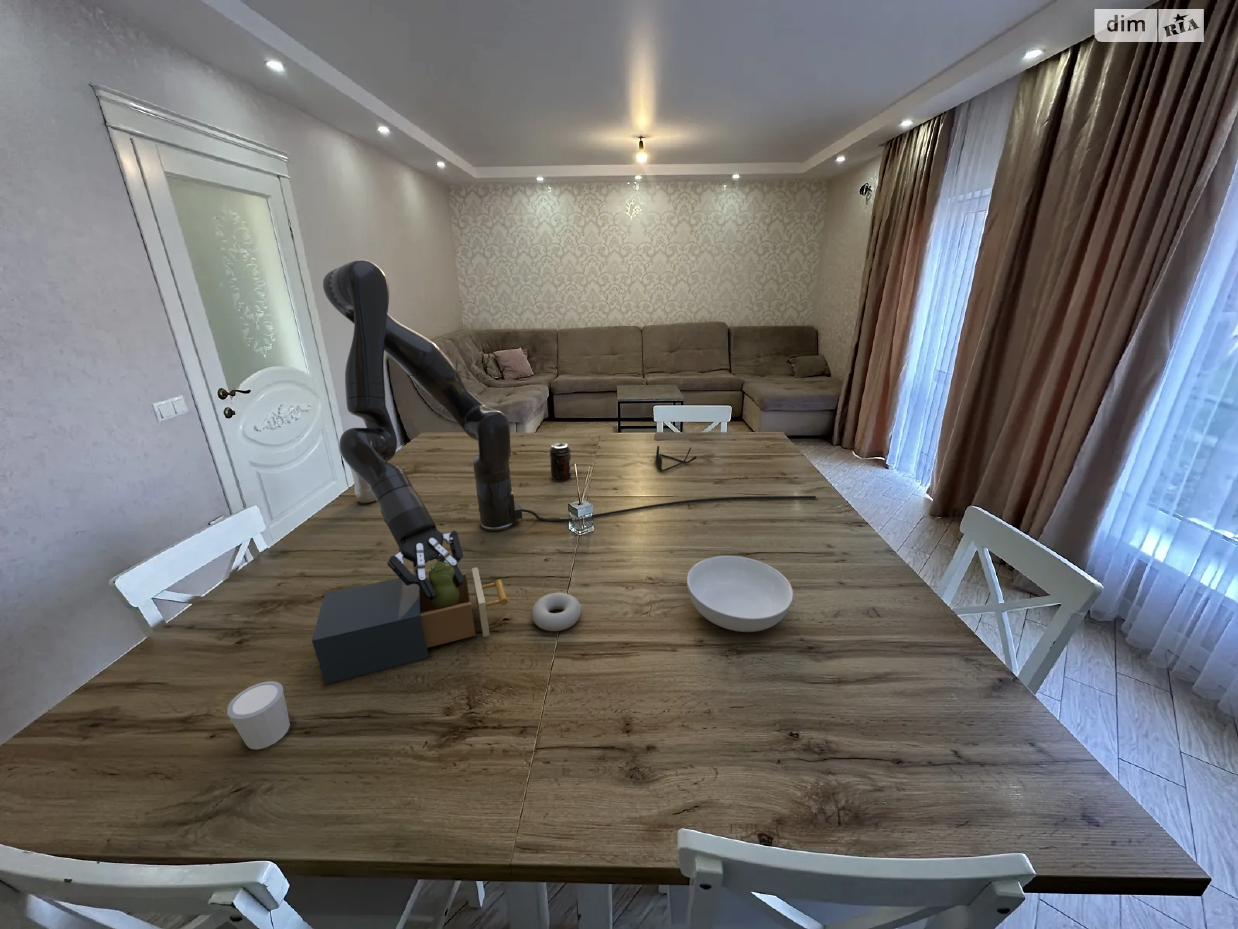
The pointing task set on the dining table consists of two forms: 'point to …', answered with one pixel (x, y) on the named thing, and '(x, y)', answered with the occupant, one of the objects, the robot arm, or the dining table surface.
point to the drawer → (458, 613)
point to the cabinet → (369, 630)
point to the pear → (443, 585)
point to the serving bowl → (739, 593)
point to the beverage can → (560, 461)
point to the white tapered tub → (260, 714)
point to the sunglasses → (659, 459)
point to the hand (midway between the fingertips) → (447, 591)
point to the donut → (558, 619)
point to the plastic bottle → (362, 489)
